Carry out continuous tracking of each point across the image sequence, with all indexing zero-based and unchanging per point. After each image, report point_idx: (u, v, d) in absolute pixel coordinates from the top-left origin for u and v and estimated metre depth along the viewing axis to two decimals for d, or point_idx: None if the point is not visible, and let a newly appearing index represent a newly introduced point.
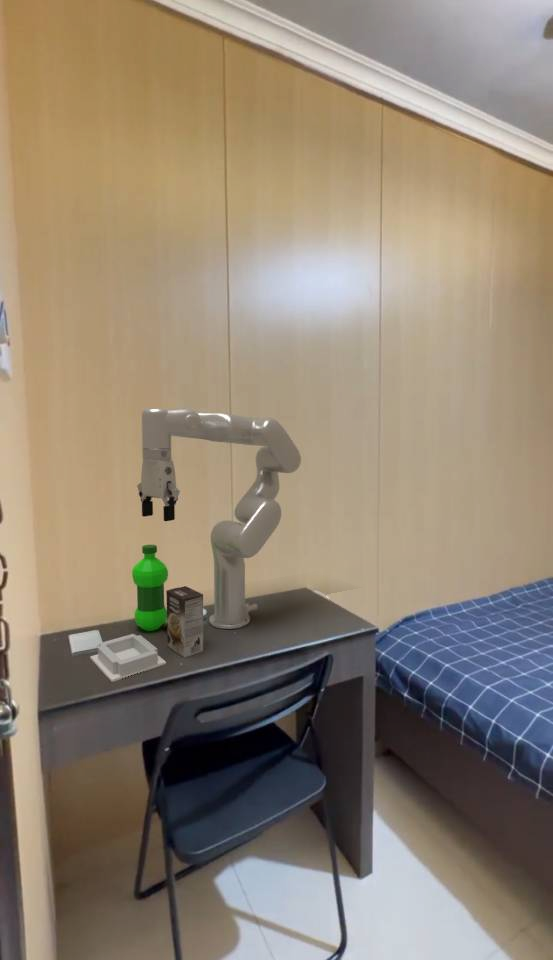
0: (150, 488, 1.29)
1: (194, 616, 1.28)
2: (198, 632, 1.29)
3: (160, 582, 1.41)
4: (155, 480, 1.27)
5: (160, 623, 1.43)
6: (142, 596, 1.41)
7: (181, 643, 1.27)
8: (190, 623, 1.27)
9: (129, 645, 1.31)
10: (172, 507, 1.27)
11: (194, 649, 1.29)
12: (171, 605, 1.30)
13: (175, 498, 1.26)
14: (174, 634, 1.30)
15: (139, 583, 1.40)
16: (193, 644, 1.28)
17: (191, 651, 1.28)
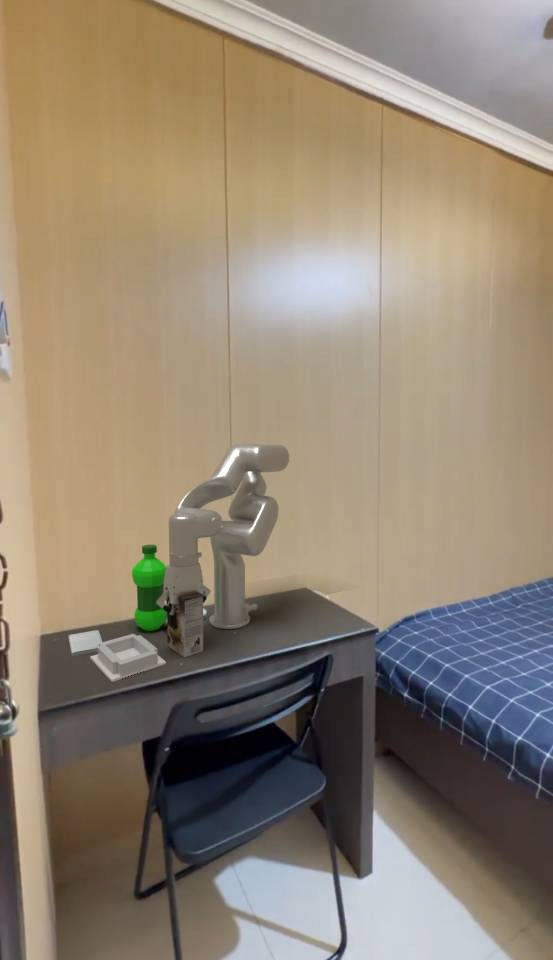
0: (188, 593, 1.29)
1: (194, 616, 1.28)
2: (198, 632, 1.29)
3: (160, 582, 1.41)
4: (196, 583, 1.30)
5: (160, 623, 1.43)
6: (142, 596, 1.41)
7: (181, 643, 1.27)
8: (190, 623, 1.27)
9: (129, 645, 1.31)
10: None
11: (194, 649, 1.29)
12: None
13: None
14: (174, 634, 1.30)
15: (139, 583, 1.40)
16: (193, 644, 1.28)
17: (191, 651, 1.28)
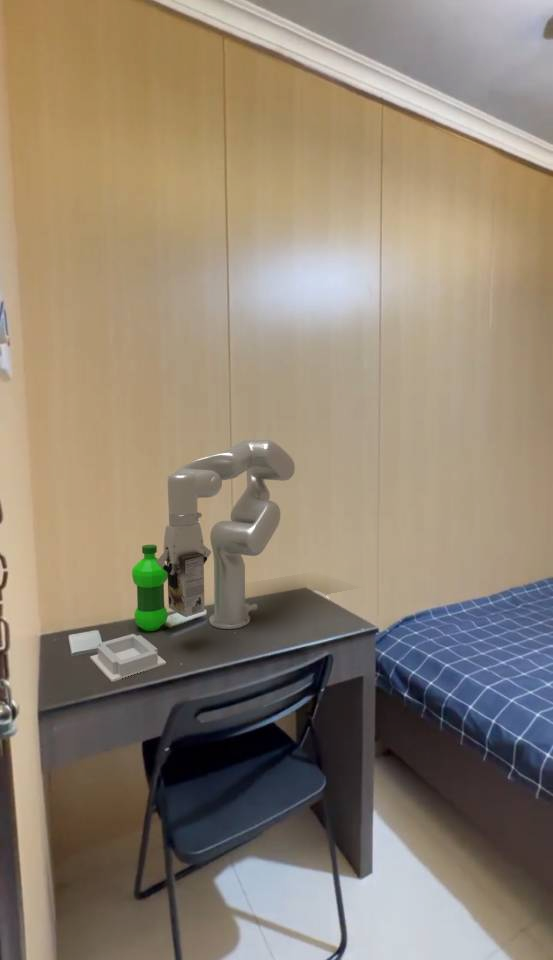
0: (189, 553, 1.28)
1: (195, 576, 1.27)
2: (199, 592, 1.29)
3: (160, 582, 1.41)
4: (196, 543, 1.29)
5: (160, 623, 1.43)
6: (142, 596, 1.41)
7: (182, 603, 1.27)
8: (191, 583, 1.27)
9: (129, 645, 1.31)
10: None
11: (195, 609, 1.28)
12: None
13: None
14: (175, 594, 1.29)
15: (139, 583, 1.40)
16: (194, 604, 1.28)
17: (192, 611, 1.28)
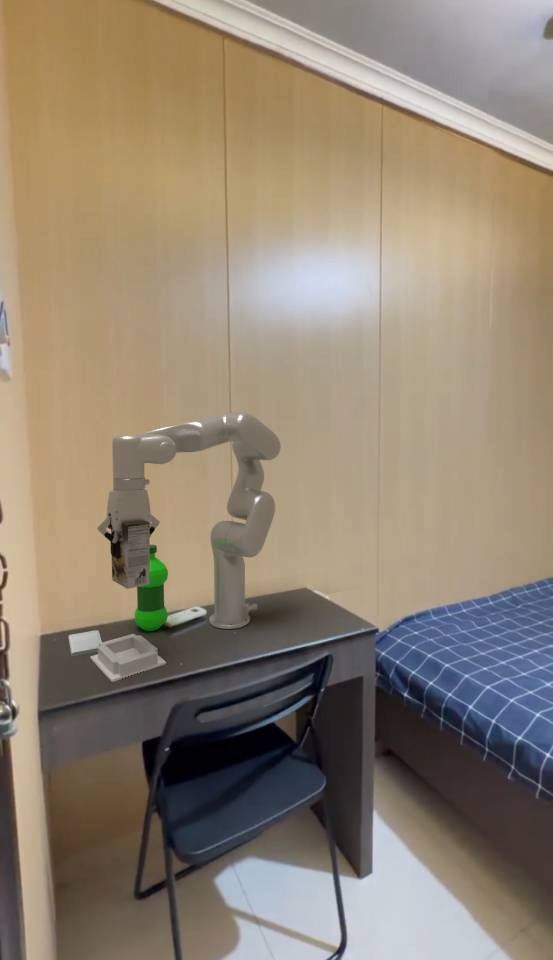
0: (133, 521, 1.20)
1: (139, 545, 1.19)
2: (143, 563, 1.20)
3: (160, 582, 1.41)
4: (142, 511, 1.21)
5: (160, 623, 1.43)
6: (142, 596, 1.41)
7: (124, 573, 1.18)
8: (134, 552, 1.18)
9: (129, 645, 1.31)
10: None
11: (138, 580, 1.20)
12: None
13: None
14: (118, 565, 1.21)
15: None
16: (138, 575, 1.19)
17: (135, 582, 1.19)
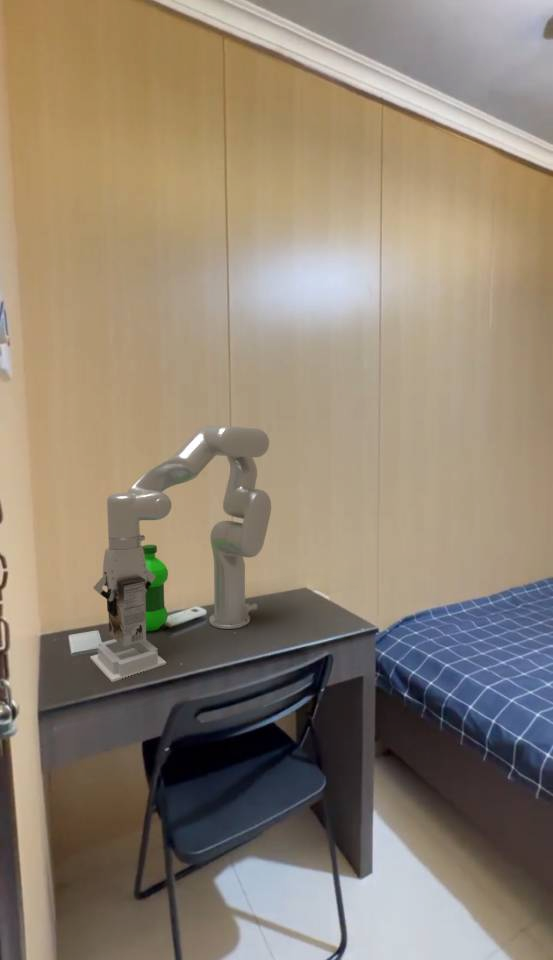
0: (129, 578, 1.21)
1: (135, 602, 1.20)
2: (139, 620, 1.21)
3: (160, 582, 1.41)
4: (138, 567, 1.22)
5: (160, 623, 1.43)
6: None
7: (121, 631, 1.20)
8: (130, 610, 1.19)
9: (129, 645, 1.31)
10: None
11: (135, 637, 1.21)
12: None
13: None
14: (114, 622, 1.22)
15: None
16: (134, 632, 1.21)
17: (132, 639, 1.20)
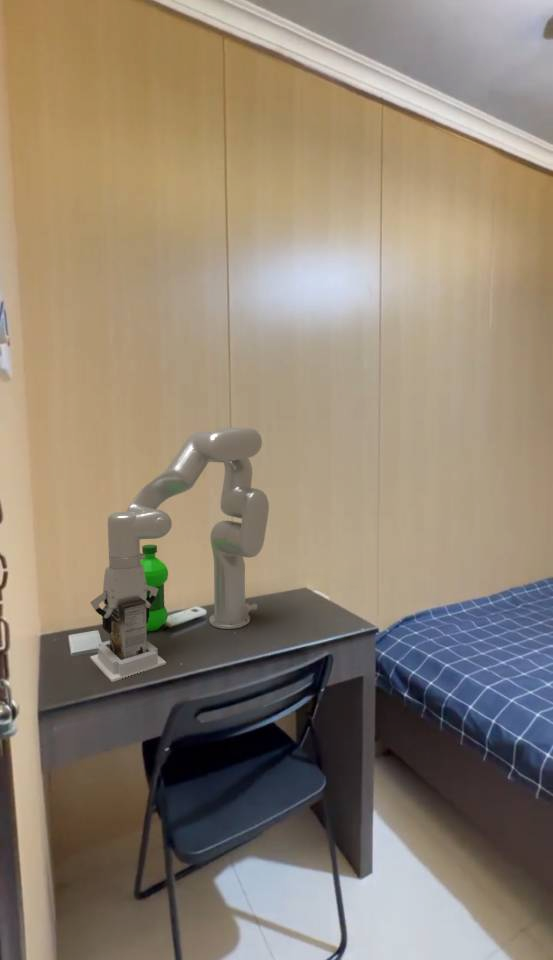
0: (129, 597, 1.21)
1: (136, 625, 1.21)
2: (140, 642, 1.22)
3: (160, 582, 1.41)
4: (138, 586, 1.23)
5: (160, 623, 1.43)
6: None
7: (121, 653, 1.20)
8: (131, 632, 1.20)
9: None
10: None
11: None
12: (112, 612, 1.23)
13: None
14: (115, 643, 1.23)
15: None
16: (135, 654, 1.21)
17: None
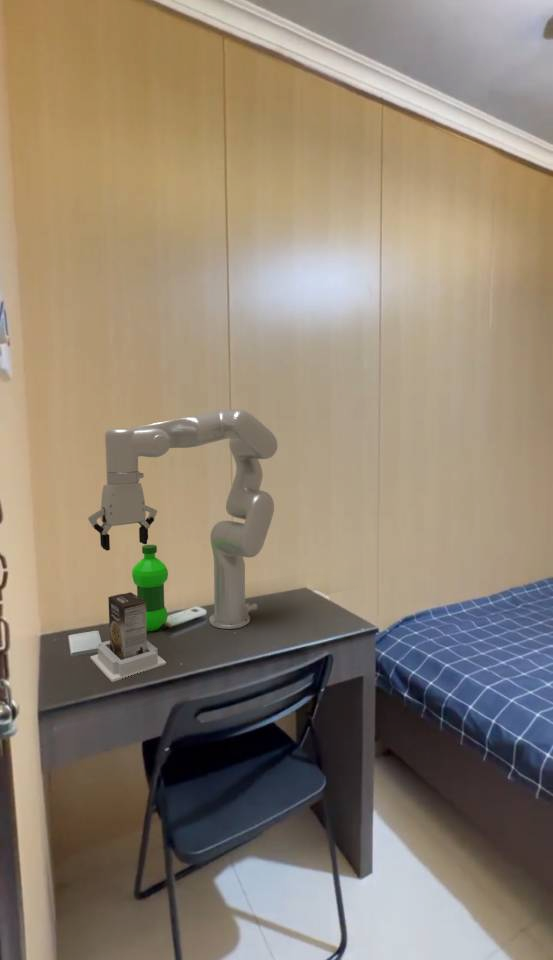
0: (128, 515, 1.19)
1: (136, 625, 1.21)
2: (140, 642, 1.22)
3: (160, 582, 1.41)
4: (136, 504, 1.20)
5: (160, 623, 1.43)
6: (142, 596, 1.41)
7: (121, 653, 1.20)
8: (131, 632, 1.20)
9: None
10: None
11: None
12: (112, 612, 1.23)
13: None
14: (115, 643, 1.23)
15: (139, 583, 1.40)
16: (135, 654, 1.21)
17: None
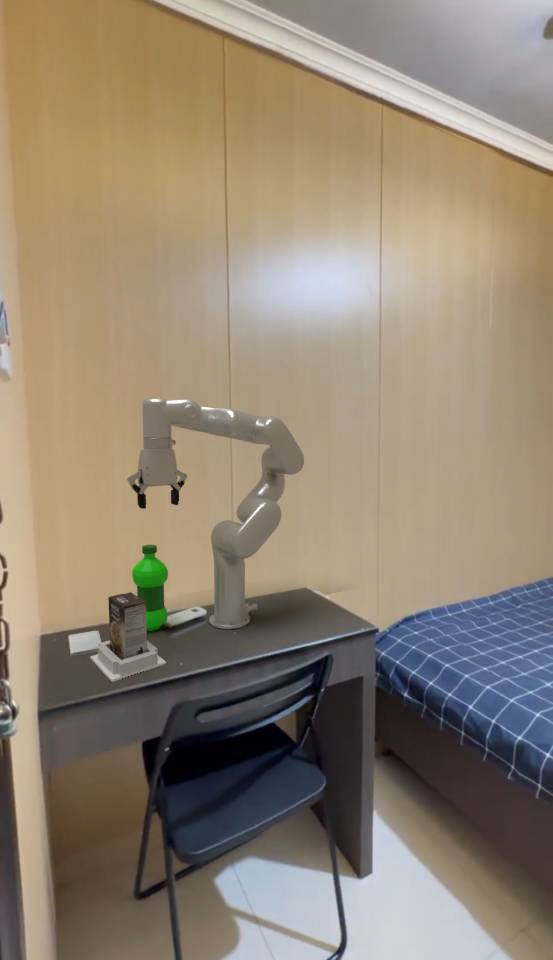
0: (162, 477, 1.32)
1: (136, 625, 1.21)
2: (140, 642, 1.22)
3: (160, 582, 1.41)
4: (170, 468, 1.33)
5: (160, 623, 1.43)
6: (142, 596, 1.41)
7: (121, 653, 1.20)
8: (131, 632, 1.20)
9: None
10: None
11: None
12: (112, 612, 1.23)
13: None
14: (115, 643, 1.23)
15: (139, 583, 1.40)
16: (135, 654, 1.21)
17: None
